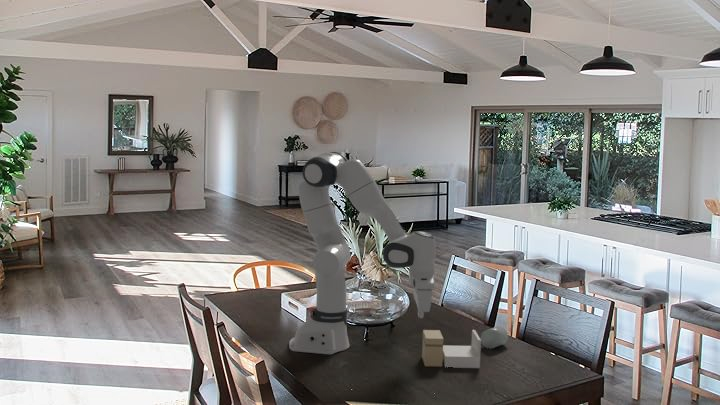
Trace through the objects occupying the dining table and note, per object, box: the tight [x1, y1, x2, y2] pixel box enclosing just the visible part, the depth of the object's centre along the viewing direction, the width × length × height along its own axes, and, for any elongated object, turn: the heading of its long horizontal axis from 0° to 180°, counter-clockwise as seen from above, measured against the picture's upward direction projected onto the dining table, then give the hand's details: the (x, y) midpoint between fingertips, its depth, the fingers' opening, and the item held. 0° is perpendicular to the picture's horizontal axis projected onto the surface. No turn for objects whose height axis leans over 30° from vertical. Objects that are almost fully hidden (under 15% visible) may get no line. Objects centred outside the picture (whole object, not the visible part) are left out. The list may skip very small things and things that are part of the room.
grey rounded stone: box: [480, 325, 509, 350], centre depth 248 cm, size 7×7×8 cm
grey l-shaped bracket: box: [442, 329, 482, 369], centre depth 231 cm, size 12×11×10 cm
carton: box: [421, 329, 444, 367], centre depth 231 cm, size 10×9×6 cm
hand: (420, 316), depth 229 cm, fingers closed
